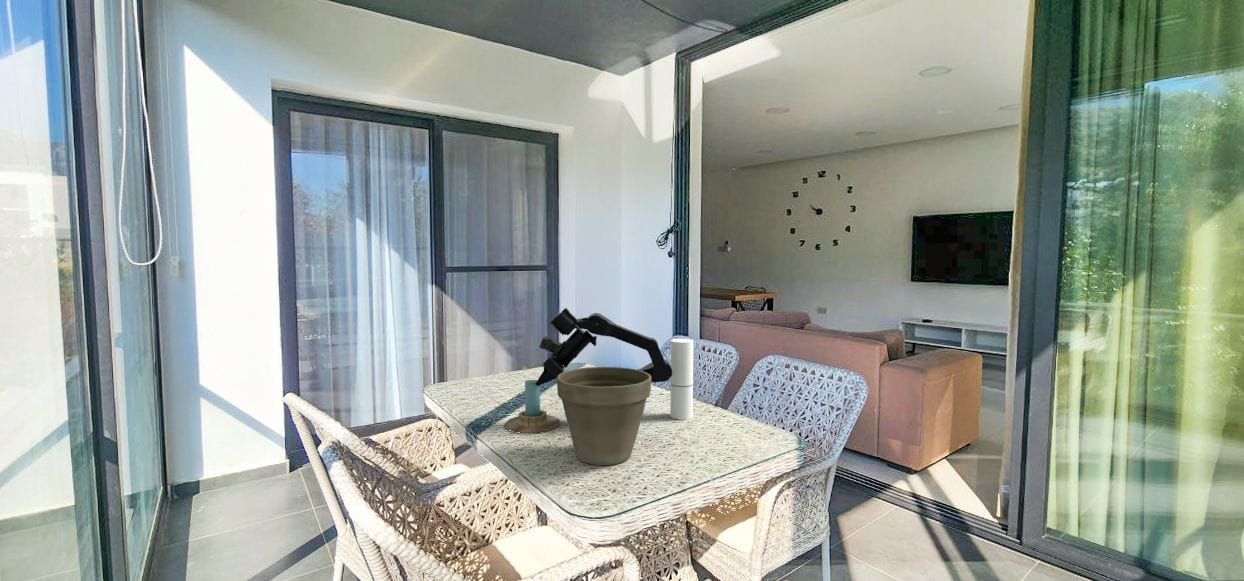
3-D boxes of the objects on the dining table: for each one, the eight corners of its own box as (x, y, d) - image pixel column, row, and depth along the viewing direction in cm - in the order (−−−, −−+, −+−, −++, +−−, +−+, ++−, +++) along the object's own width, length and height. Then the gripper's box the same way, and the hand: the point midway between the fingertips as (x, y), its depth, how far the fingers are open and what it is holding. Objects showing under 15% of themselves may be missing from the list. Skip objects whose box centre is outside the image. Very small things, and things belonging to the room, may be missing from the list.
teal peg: (540, 420, 178) (540, 379, 177) (539, 424, 173) (538, 383, 172) (526, 420, 178) (526, 379, 176) (524, 425, 173) (524, 383, 172)
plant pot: (600, 433, 168) (600, 361, 166) (669, 452, 152) (669, 373, 150) (537, 457, 149) (536, 376, 147) (608, 483, 133) (608, 392, 131)
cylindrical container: (692, 413, 187) (693, 338, 185) (692, 420, 180) (693, 342, 177) (670, 412, 187) (671, 338, 185) (670, 419, 180) (670, 342, 178)
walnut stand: (570, 420, 180) (570, 409, 180) (542, 436, 164) (542, 425, 164) (524, 413, 187) (524, 403, 186) (493, 429, 171) (493, 418, 171)
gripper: (559, 324, 183) (526, 358, 184) (550, 331, 164) (513, 369, 165) (583, 347, 183) (550, 381, 184) (577, 358, 165) (541, 396, 166)
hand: (539, 381), depth 175 cm, fingers open, 9 cm apart
